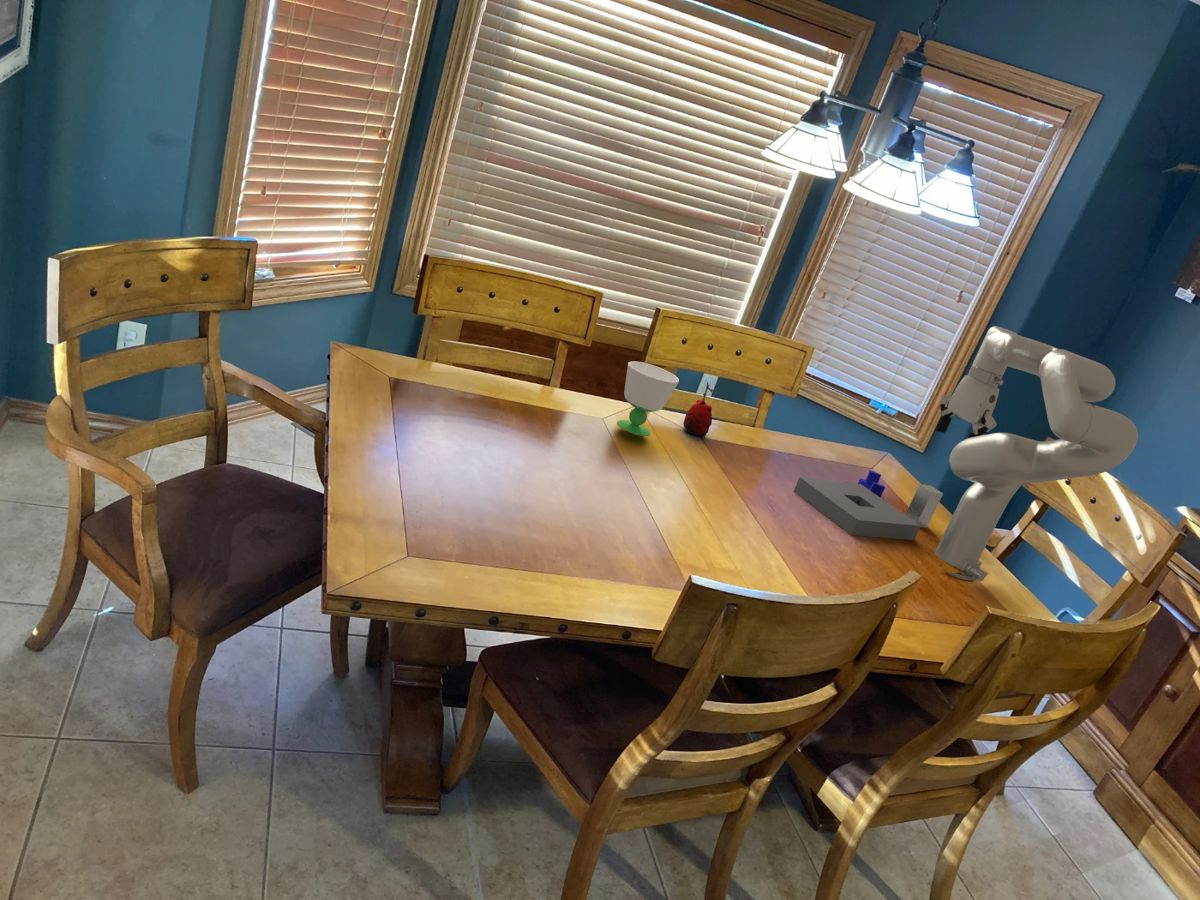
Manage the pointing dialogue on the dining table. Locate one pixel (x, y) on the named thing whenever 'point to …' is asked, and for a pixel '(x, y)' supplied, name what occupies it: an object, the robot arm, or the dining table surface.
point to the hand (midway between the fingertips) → (954, 439)
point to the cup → (646, 394)
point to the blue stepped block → (873, 483)
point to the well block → (856, 509)
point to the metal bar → (924, 504)
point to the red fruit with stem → (699, 417)
